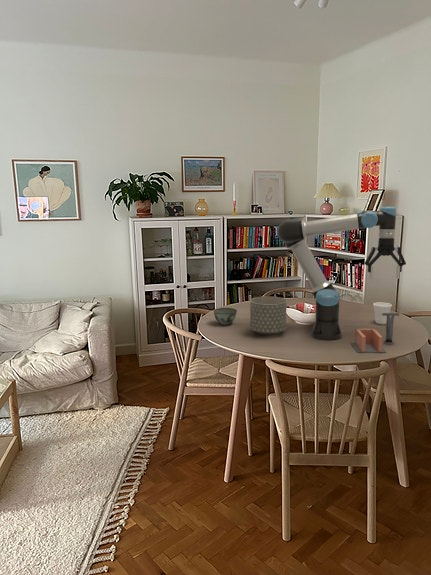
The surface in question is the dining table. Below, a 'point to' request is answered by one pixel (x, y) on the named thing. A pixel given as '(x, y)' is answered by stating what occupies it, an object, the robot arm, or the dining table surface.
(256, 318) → the planter
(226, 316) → the bowl
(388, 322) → the stand
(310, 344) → the dining table surface
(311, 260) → the robot arm
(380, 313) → the cup
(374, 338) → the c link
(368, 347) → the mat
